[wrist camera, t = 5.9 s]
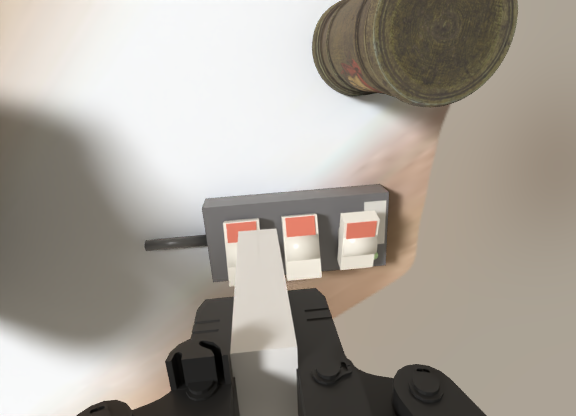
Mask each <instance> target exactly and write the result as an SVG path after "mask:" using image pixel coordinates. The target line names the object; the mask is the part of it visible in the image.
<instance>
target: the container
mask: <svg viewBox="0 0 576 416" xmlns="http://www.w3.org/2000/svg"><path fill="white" fill-rule="evenodd" d="M517 14H518V2H517V0H341V1H339V2H337V3H336V4H334V5H333V6H331V7H330V8H329V9H328V10H327V11H326V12H325V13H324V14H323V15H322V16H321V18H320V19H319V21H318V23H317V25H316V28H315V31H314V35H313V41H312V53H313V59H314V63H315V66H316V68H317V70H318V72H319V74H320V76H321V77H322V79H323V80H324V81H325V82H326V83H327V84H328V85H329V86H330V87H331V88H333V89H334V90H336V91H338V92H340V93H342V94H345V95H351V96H360V95H368V94H372V93H383V94H387V95H390V96H393V97H396V98H398V99H399V100H401V101H403V102H406V103H408V104H411V105H415V106H421V107H438V106H444V105H448V104H451V103H454V102H457V101H459V100H461V99H463V98H465V97H467V96H468V95H470V94H472V93H473V92H475V91H476V90H477V89H478V88H480V87H481V86H482V85H483V84H484V83H485V82H486V81H487V80H488V79H489V78H490V77H491V76H492V75H493V74H494V73H495V71H496V70H497V69H498V67H499V66H500V64H501V63H502V61H503V59H504V58H505V56H506V54H507V52H508V50H509V47H510V45H511V42H512V39H513V36H514V33H515V28H516V23H517Z"/></svg>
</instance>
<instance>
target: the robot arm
mask: <svg viewBox="0 0 576 416" xmlns="http://www.w3.org/2000/svg"><path fill="white" fill-rule="evenodd" d="M165 363H166V367H167V372H168V377H169V382H170V387H171V391H170V392H169V393H168V394H167V395H165V396H164V397H162V398H161V399H159V400H156V401H154V402H152V403H150V404H147V405H145V406H142V407H139V408H137V409H134V410H131V409H130V407H129V406H128V405H127V404H126V403H124V402H121V401H118V400H111V401H103V402H100V403H98V404H95V405H92V406H90V407H89V408H87V409H85V410H84V411H82V412H81V413H79V414H78V415H77V416H486V415H485V414H484V413H483V412H482V411H481V410H480V409H479V407H477V406H476V405H475V403H473V401H472V400H471V399H470V398H469V397H468V396H467V395H466V394H465V393H464V392H463V391H462V390H461V389H460V388H459V387H458V386H457V385H456V384H455V383H454V382H453V381H452V380H451V379H450V378H449V377H447V376H446V375H445V374H443V373H442V372H441V371H439V370H437V369H434V368H432V367H430V366H426V365H419V364H415V365H407V366H405V367H403V368H401V369H400V370H398V371H397V373H396V375H395V377H394V378H388V377H382V376H376V375H372V374H368V373H365V372H363V371H361V370H358V369H357V368H356V367H355V366H354V365H353V363H352V362H351V361H350V360H349V359H347V358H346V356H345V354H344V351H343V348H342V345H341V342H340V339H339V337H338V334H337V331H336V328H335V325H334V322H333V319H332V316H331V313H330V310H329V307H328V304H327V301H326V298H325V296H324V295H322V294H321V293H320V292H319V291H318V290H317V289H316V288H311V289H301V290H290V291H287V286H286V280H285V275H284V269H283V263H282V258H281V252H280V246H279V241H278V235H277V229H263V230H251V231H238V245H237V260H236V275H235V290H234V297H227V298H216V299H206V300H205V301H204V302H203V304H202V305H201V306H200V307H199V308H198V310H197V312H196V317H195V322H194V326H193V331H192V335H191V339H189V340H187V341H185V342H183V343H181V344H179V345H178V346H177V347H176V348H175V349H173V350H172V351H171V352H170V354H169V355H168V357H167V359H166V361H165Z"/></svg>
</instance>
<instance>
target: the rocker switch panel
mask: <svg viewBox="0 0 576 416" xmlns="http://www.w3.org/2000/svg"><path fill="white" fill-rule="evenodd" d="M388 202H389V192H388V191H387V190H386V189H385V188H384V187H382V186H381V185H380V184H376V185H364V186H352V187H340V188H328V189H316V190H304V191H292V192H280V193H268V194H256V195H244V196H232V197H220V198H208V199H205V201H204V204H203V207H202V212H203V218H204V225H205V231H206V235H199V236H188V237H177V238H166V239H154V240H146V241H145V250H146V251H152V250H163V249H174V248H185V247H195V246H206V245H208V251H209V258H210V264H211V271H212V277H213V282H220V281H229V279H228V268H227V258H226V248H225V238H224V228H223V222H224V221H230V220H242V219H253V218H259V226H260V230H263V229H277V235H278V241H279V246H280V252H281V258H282V263H283V269H284V275H286V266H285V254H284V242H283V230H282V218H281V216H289V215H301V214H312V213H315V214H317V221H318V234H319V247H320V260H321V271H331V270H340V267H339V264H338V260H337V258H338V229H339V227H340V215H341V213H350V212H362V211H373V210H375V211H376V213H377V215H378V217H379V219H380V221H379V228H378V235H377V252H376V253H375V254H374V261H373V266H382V265H386V245H387V224H388Z"/></svg>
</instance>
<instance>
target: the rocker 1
mask: <svg viewBox="0 0 576 416" xmlns="http://www.w3.org/2000/svg"><path fill="white" fill-rule="evenodd" d="M223 228H224V238H225V248H226V258H227V268H228V279H229V287H230V286H235V275H236V260H237V245H238V231H251V230H260V226H259V218H253V219H242V220H230V221H224V222H223Z"/></svg>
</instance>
